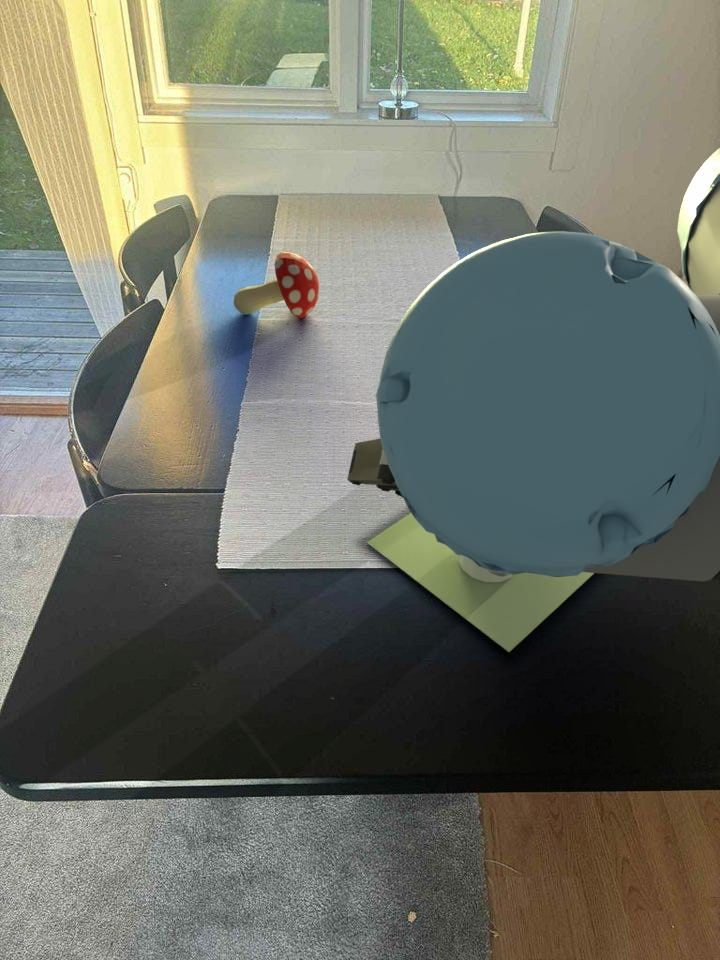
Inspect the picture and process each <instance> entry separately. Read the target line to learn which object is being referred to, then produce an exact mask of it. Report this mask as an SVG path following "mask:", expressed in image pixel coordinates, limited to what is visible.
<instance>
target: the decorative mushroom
mask: <svg viewBox="0 0 720 960" xmlns="http://www.w3.org/2000/svg"><path fill="white" fill-rule="evenodd" d="M273 265H274V272H275V277H276V279H273V280H269V281H267V282H265V283H262V284H259V285H251V286H246V287H243V288H240V289H238V290H237V291H236V293H235V294H234V296H233V306H234V307H235V309H236V310H237V311H238V312H239V313H240V314H243V315H251V314H254V313H257V312H258V311H261V310H262V309H263V308H266V307H268V306H269V305H273V304H278V303H280V302H282V301H283V302H284V303H285V305H286V307H287V309H288V310H289V312H290V314H292V315H293V316H295V317H296V318H298V319H303V318H306V317H307V316H308V315H309V314H310V313H312V311H313V310H314V308H315V307H316V305H317V302H318V299H319V293H320V281H319V278H318V275H317V272H316V270H315V269H314V268H313V266H312V265H311V264H310V263H309V262H308V261H307V260H306V259H305V258H303V257H302V256H301V255H299V254H297V253H293V252H290V251H289V252H288V251H287V252H286V251H283V252H282V251H281V252H280V253H278V254H277V255H276V257H275V260H274V264H273Z"/></svg>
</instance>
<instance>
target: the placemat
mask: <svg viewBox="0 0 720 960" xmlns="http://www.w3.org/2000/svg"><path fill="white" fill-rule="evenodd" d="M366 544H367V545H368V546H370V547H371V548H373V549H374V550H375V551H377V553H379V554H380V555H381V556H383V557H384V558H385V559H387V560H389V562H391V563H392V564H393V565H394V566H396V567H397V568H399V570H401V571H402V572H404V573H405V574H406V575H408V576H409V577H410V578H412V579H413V580H414V581H415V582H416V583H418V584H419V585H421V586H422V587H423V588H424V589H426V590H427V591H429V592H430V593H431V594H432V595H433V596H434V597H436V598H437V599H439V600H440V601H441V602H443V603H444V604H445V605H446V606H447V607H449V608H451V609H452V610H453V611H454V612H456V614H458V615H460V616H461V617H462V618H463V619H464V620H466V621H467V622H469V623H470V624H471V625H472V626H473V627H475V628H476V629H478V630H479V631H480V632H481V633H482V634H484V635H486V636H487V637H488V638H489V639H490V640H492V641H493V642H494V643H496V644H497V645H499V646H500V647H501V648H502V649H503V650H505V651H506V652H507V653H510V652H511V651H512V650H514V649H515V648H516V647H518V645H519V644H520V643H521V642H522V641H523V640H524V639H525V638H526V637H528V635H530V634H531V633H532V632H533V631H534V630H536V628H537V627H539V625H540V624H542V623H543V622H544V621H545V620H546V619H547V618H548V617H549V616H550V615H552V613H553V612H554V611H556V610H557V609H558V608H559V607H560V606H561V605H562V604H563V603H564V602H565V601H566V600H568V598H569V597H570V596H571V595H573V594H574V593H575V592H576V591H577V590H578V589H579V588H580V587H581V586H583V584H585V583H586V582H587V581H588V580H589V579H590V578H591V577H593V575H594V574H595V573H589V572H581V573H580V574H579V575H577V576H564V577H552V576H547V575H541V574H534V573H526V572H525V573H520V574H514V575H513V576H512V577H511V578H509V579H507V580H504V581H502V582H494V583H486V582H483V581H480V580H477V579H474V578H472V577H471V576H469V575H468V574H467V573H466V572H464V571H463V570H462V568H461V566H460V564H459V562H458V560H457V557H458V555H457V554H455V553H454V552H453V551H452V550H451V549H450V548H449V547H448V546H447V545H445V544H442V543H440V542H437V539H436V537H435V534H433V533H429V532H426V531H425V529H424V528H423V527H422V526H421V525H420V524H419V522H418V521H417V520H416V519H415V518H414V516H413V515H412V513H411V512H410V513H409V514H407V515H406V516H404V517H403V518H401V519H399V520H398V521H397V522H395V523H394V524H392V525H390V526H389V527H388V528H386V529H384V531H382V532H380V533H379V534H377V535H375V536H374V537H373V538H371V539H370V540H369V541H367V542H366Z"/></svg>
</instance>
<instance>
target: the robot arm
mask: <svg viewBox="0 0 720 960" xmlns="http://www.w3.org/2000/svg"><path fill="white" fill-rule="evenodd" d="M676 231H677V236H678V240H679V246H680V247H679V248H680V251H681V272H682V276H683V278H684V279H685V281H686V282H685V281H684V280H683V279H682V278H680V277H679V276H678V275H677V274H676V273H675V272H674V271H672V270H671V269H670V268H669V267H668V266H666V265H663V264H662V263H659V262H656V261H655V260H652V259H651V258H650V257H647V256H645V255H644V254H642V253H640V252H637V251H636V250H634V249H632V248H630V247H627V246H626V245H623V244H621V243H619V242H616V241H614V240H610V239H606V238H604V237H603V236H601V235H596V234H590V233H586V232H577V231H576V232H575V231H564V230H563V231H560V230H559V231H557V230H556V231H555V230H554V231H541V232H534V233H527V234H523V235H519V236H515V237H512V238H508V239H503V240H500V241H498V242H495V243H492V244H490V245H488V246H485V247H483V248H481V249H478V250H476V251H474V252H472V253H471V254H468V255H467V256H465V257H463V258H462V259H460V260H459V261H457V262H455V263H454V264H453V265H451V266H450V267H448V268H447V269H446V270H444V271H443V272H442V273H440V274H439V275H438V276H437V277H436V278H435V279H434V280H433V281H432V282H431V283H430V284H429V285H428V286H426V288H424V289H423V290H422V292H421V293H420V294H419V295H418V297H417V298H416V299H415V300H414V301H413V302H412V303H411V304H410V307H408V309H407V311H406V312H405V314H404V315H403V317H402V319H401V321H400V323H399V324H398V326H397V327H396V329H395V332H394V333H393V336H392V339H391V340H390V342H389V345H388V347H387V350H386V352H385V355H384V359H383V364H382V368H381V372H380V376H379V380H378V387H377V390H376V392H375V399H376V407H377V423H378V432H379V437H380V438H376V439H370V440H365V441H364V440H363V441H359V442H355V443H354V448H353V451H352V456H351V460H350V465H349V470H348V475H347V479H346V480H347V481H348V482H349V483H351V485H354V486H360V485H367V486H368V485H371V486H375V487H376V488H377V489H380V490H381V491H382V492H387V493H389V492H391V491H392V492H393V491H394V494H395V495H396V496H399V497H400V498H402V499H403V500H404V502H405V505H406V507H407V508H408V510H409V511H410V513H412V515H413V516H414V518H415V519H416V520H417V521H418V522H419V524H420V525H421V526H422V527H423V528H424V529H425V531H426V532H429V533H433V534H435V537H436V539H437V542H440V543H442V544H445V545H447V546H448V547H449V548H450V549H451V550H452V551H453V552H454V553H455V554H457V555H463V556H465V557H467V558H470V559H472V560H473V561H474V562H475V563H476V564H477V565H478V566H479V567H483V568H486V569H488V571H489V572H490V573H491V574H494V575H497V576H501V577H503V576H507V575H508V574H520V573H525V572H526V573H534V574H541V575H547V576H552V577H564V576H577V575H579V574H580V573H581V572H589V573H594V574H603V575H615V576H628V577H630V576H631V577H641V578H653V579H655V578H656V579H664V580H665V579H666V580H667V579H668V580H681V581H691V582H692V581H693V582H708V581H711V580H713V581H720V147H719V148H718V149H716V150H715V151H714V152H713V153H712V154H711V155H710V156H709V157H708V158H707V159H706V160H705V162H704V163H702V166H700V168H699V169H698V171H697V172H696V173H695V175H694V177H693V178H692V180H691V182H690V184H689V185H688V188H687V190H686V191H685V194H684V196H683V199H682V202H681V205H680V210H679V215H678V221H677V227H676Z"/></svg>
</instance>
